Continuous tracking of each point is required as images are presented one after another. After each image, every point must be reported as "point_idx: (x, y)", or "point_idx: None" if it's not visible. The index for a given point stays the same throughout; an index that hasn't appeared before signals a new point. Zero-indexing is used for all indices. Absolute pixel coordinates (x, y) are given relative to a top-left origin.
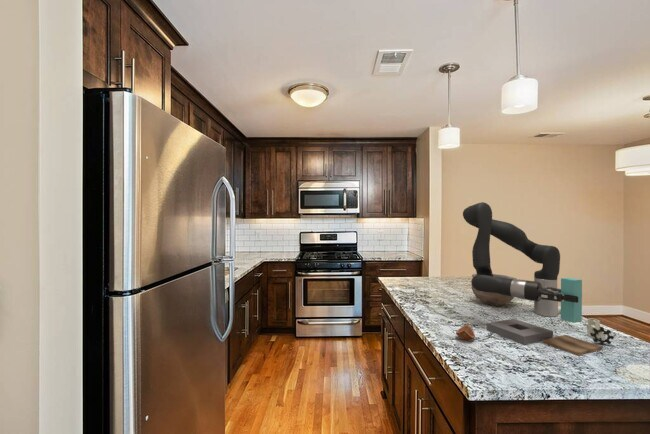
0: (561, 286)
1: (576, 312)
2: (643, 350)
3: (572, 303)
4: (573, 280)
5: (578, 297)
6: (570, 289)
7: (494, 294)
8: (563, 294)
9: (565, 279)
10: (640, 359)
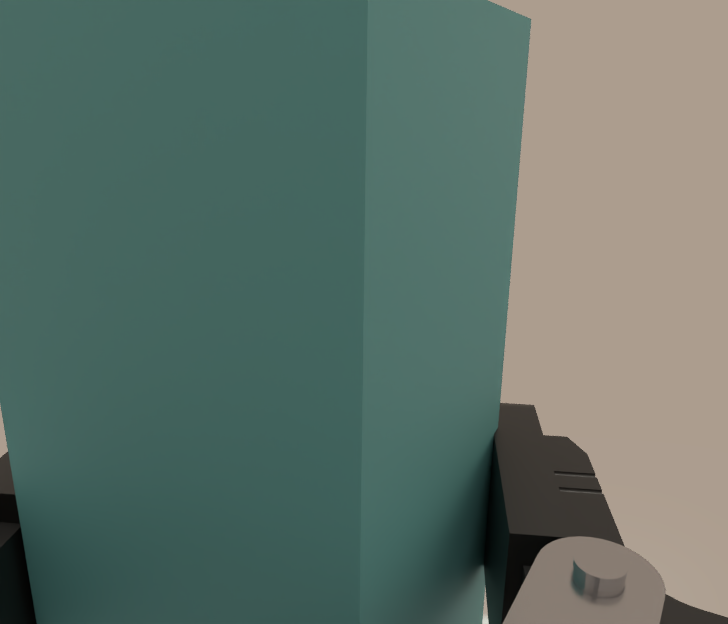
0: (369, 376)
1: None
2: None
3: (477, 614)
4: (527, 21)
5: None
6: (480, 322)
7: None
8: (636, 558)
9: (455, 7)
10: None
